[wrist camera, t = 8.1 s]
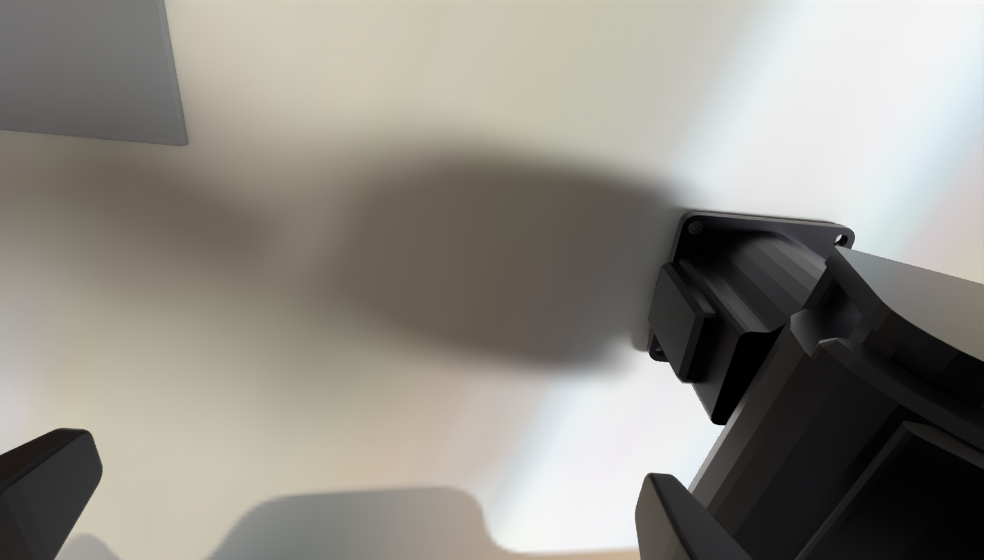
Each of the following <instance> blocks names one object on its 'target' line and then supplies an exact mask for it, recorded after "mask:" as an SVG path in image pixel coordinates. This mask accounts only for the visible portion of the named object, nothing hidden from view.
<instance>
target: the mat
mask: <svg viewBox="0 0 984 560" xmlns="http://www.w3.org/2000/svg"><path fill="white" fill-rule="evenodd" d="M0 130H11V131H22V132H33V133H44V134H55V135H66V136H77V137H88V138H99V139H110V140H121V141H132V142H143V143H154V144H165V145H176V146H183V145H186V144H188V140H187V134H186V128H185V123H184V117H183V111H182V105H181V99H180V93H179V87H178V81H177V75H176V69H175V64H174V58H173V52H172V46H171V40H170V34H169V28H168V22H167V16H166V10H165V5H164V0H0Z"/></svg>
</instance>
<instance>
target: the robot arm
mask: <svg viewBox="0 0 984 560" xmlns="http://www.w3.org/2000/svg"><path fill="white" fill-rule="evenodd" d="M694 221H699V225H698V227H697V228H696V229H694V230H689V225H690V224H691V223H692V222H694ZM841 234H842V236H841V238H840V240H839V241H837V242H836V243H834V239H835V238H836V237H837V236H838V235H841ZM854 240H855V235H854V232H853V231H852V230H851V229H849V228H847V227H846V226H843V225H840V224H830V223H819V222H808V221H797V220H786V219H775V218H764V217H753V216H742V215H730V214H719V213H708V212H697V211H694V212H689V213H687V214H685V215H684V216H683V217H682V218H681V219H680V221H679V224H678V228H677V232H676V236H675V240H674V243H673V247H672V251H671V255H670V259H669V262H666V263H665V264H664V265H663V266H662V267H661V269H660V273H659V277H658V281H657V285H656V289H655V293H654V297H653V301H652V305H651V309H650V313H649V316H648V322H649V324H650V326H651V332H650V335H649V339H648V343H647V350H648V353H649V355H650V357H651V358H652V359H653V360H655V361H660V362H669V363H670V365H671V367H672V369H673V371H674V373H675V375H676V376H677V378H678V379H679V380H680V381H681V382H682V383H687V384H692V386H693V388H694V390H695V392H696V394H697V396H698V397H699V399H700V401H701V403H702V405H703V407H704V409H705V410H706V412H707V414H708V416H709V418H710V420H711V421H712V422H713V424H717V425H725V427H724V429H723V431H722V432H721V434H720V436H719V437H718V439H717V441H716V442H715V444H714V446H713V447H712V449H711V451H710V453H709V454H708V456H707V458H706V459H705V461H704V463H703V464H702V466H701V468H700V469H699V471H698V473H697V474H696V476H695V478H694V479H693V481H692V483H691V484H690V486H689V488H688V489H686V488H685V487H684V486H683V485H682V484H681V483H680V482H679V481H678V479H677V478H675V477H674V476H672V475H670V474H661V473H648V474H647V475H646V476H645V478H644V481H643V485H642V488H641V491H640V495H639V498H638V501H637V505H636V510H635V523H636V530H637V537H638V544H639V550H640V557H641V560H984V285H983V284H980V283H976V282H973V281H969V280H965V279H961V278H957V277H954V276H950V275H946V274H942V273H939V272H935V271H931V270H927V269H923V268H920V267H916V266H912V265H908V264H905V263H901V262H897V261H893V260H889V259H886V258H882V257H878V256H874V255H870V254H867V253H863V252H859V251H855V250H852V249H851V248H852V245H853V243H854ZM658 347H662V349H663V350H661V351H655V350H656V349H657V348H658ZM102 472H103V467H102V463H101V460H100V457H99V454H98V451H97V448H96V445H95V442H94V439H93V436H92V434H91V433H90V432H89V431H88V430H84V429H73V428H59V429H55V430H53V431H51V432H49V433H46V434H44V435H42V436H40V437H38V438H36V439H34V440H32V441H29V442H27V443H25V444H23V445H21V446H19V447H17V448H14V449H12V450H10V451H8V452H6V453H4V454H2V455H0V560H54V559H55V558H56V556H57V554H58V552H59V551H60V549H61V547H62V546H63V544H64V542H65V540H66V539H67V537H68V535H69V534H70V532H71V530H72V529H73V527H74V525H75V523H76V522H77V520H78V518H79V517H80V515H81V513H82V511H83V510H84V508H85V506H86V505H87V503H88V501H89V499H90V498H91V496H92V494H93V493H94V491H95V489H96V487H97V486H98V484H99V482H100V479H101V477H102Z"/></svg>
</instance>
